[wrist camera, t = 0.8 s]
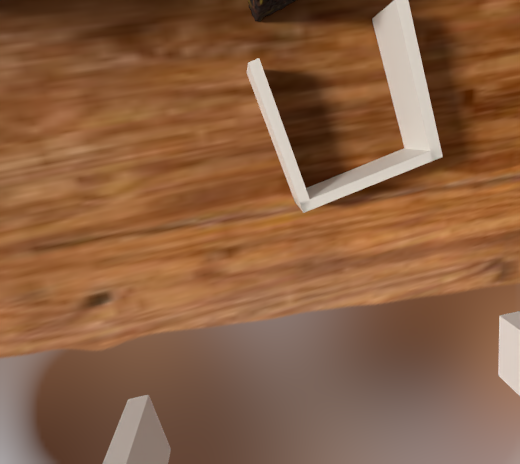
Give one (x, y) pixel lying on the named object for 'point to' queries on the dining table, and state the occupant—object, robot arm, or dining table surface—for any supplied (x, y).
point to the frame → (405, 103)
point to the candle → (266, 7)
